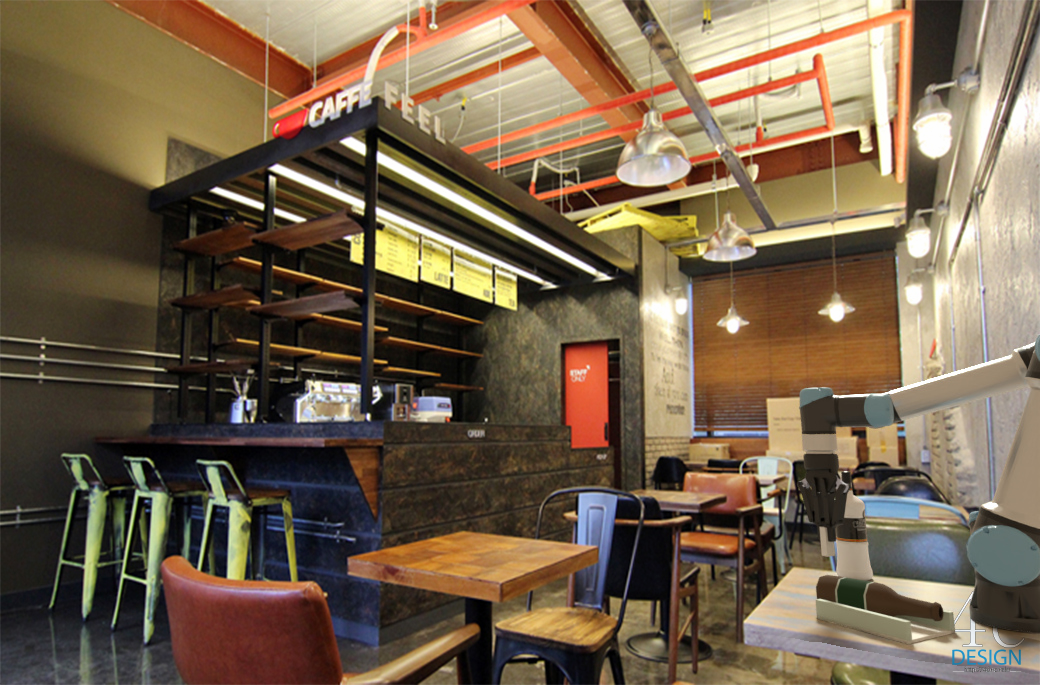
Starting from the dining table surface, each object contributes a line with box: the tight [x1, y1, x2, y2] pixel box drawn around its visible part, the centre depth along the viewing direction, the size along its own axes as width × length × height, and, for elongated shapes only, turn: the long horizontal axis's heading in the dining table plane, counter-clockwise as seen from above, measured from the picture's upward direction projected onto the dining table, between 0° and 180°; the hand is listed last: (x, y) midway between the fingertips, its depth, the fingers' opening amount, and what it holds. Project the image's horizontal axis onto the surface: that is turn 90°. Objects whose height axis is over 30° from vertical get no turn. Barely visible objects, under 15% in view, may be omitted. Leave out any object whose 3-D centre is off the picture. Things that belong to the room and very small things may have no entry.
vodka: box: [835, 470, 874, 581], centre depth 181 cm, size 9×9×30 cm
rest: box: [815, 598, 956, 645], centre depth 133 cm, size 20×16×4 cm
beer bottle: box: [815, 574, 944, 621], centre depth 136 cm, size 8×8×24 cm
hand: (828, 555), depth 145 cm, fingers closed
